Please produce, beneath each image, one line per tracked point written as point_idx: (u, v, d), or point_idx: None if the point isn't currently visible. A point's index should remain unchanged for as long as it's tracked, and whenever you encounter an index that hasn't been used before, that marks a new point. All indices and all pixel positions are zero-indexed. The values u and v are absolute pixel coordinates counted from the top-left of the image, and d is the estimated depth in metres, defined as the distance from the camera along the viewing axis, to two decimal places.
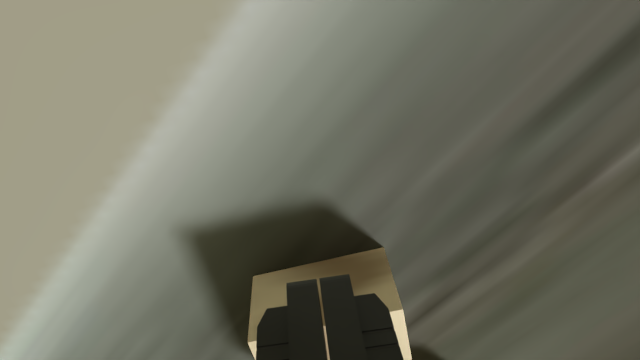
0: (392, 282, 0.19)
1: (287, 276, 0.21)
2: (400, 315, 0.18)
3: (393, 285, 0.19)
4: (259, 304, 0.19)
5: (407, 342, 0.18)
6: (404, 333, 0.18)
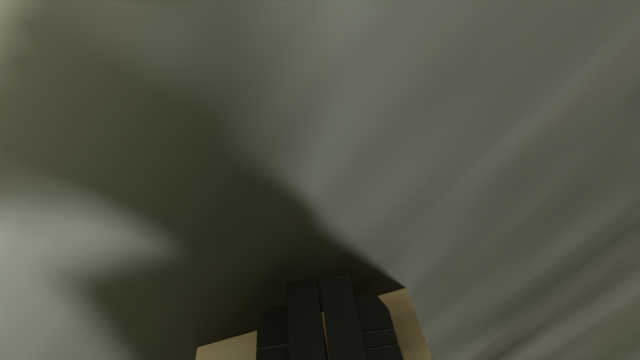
0: None
1: (250, 351, 0.12)
2: None
3: None
4: None
5: None
6: None
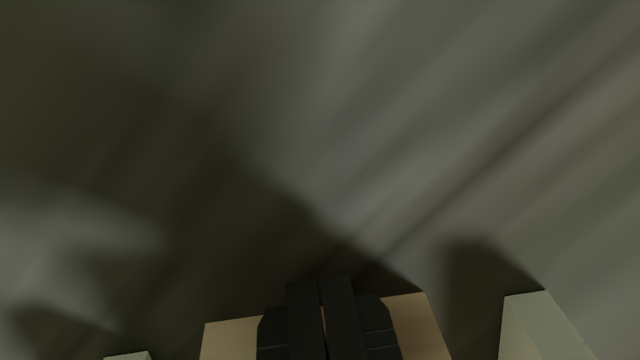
0: None
1: None
2: None
3: None
4: None
5: None
6: None
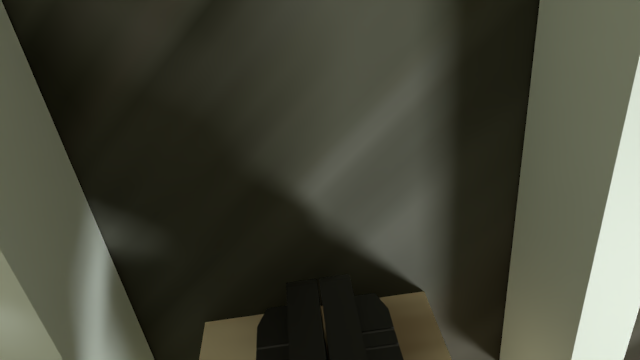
0: None
1: None
2: None
3: None
4: None
5: None
6: None
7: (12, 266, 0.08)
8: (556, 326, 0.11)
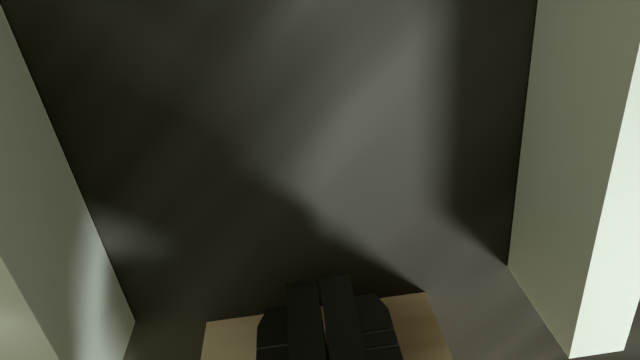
0: None
1: None
2: None
3: None
4: None
5: None
6: None
7: None
8: (581, 178, 0.09)
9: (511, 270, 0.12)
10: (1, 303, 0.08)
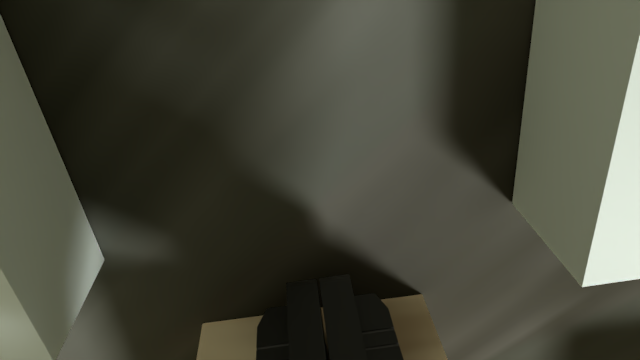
0: None
1: None
2: None
3: None
4: None
5: None
6: None
7: None
8: (600, 68, 0.08)
9: (516, 205, 0.11)
10: None
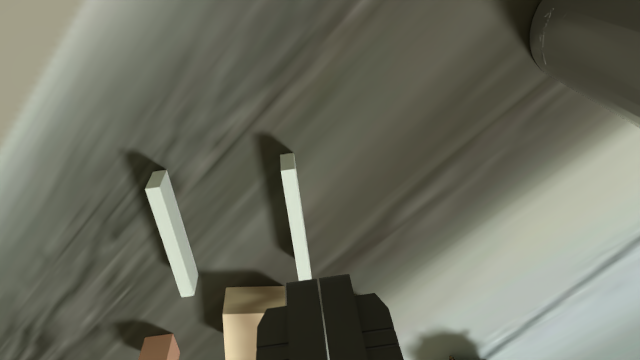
0: (284, 301, 0.47)
1: (241, 290, 0.48)
2: None
3: (284, 303, 0.47)
4: (228, 300, 0.47)
5: None
6: None
7: (171, 224, 0.40)
8: None
9: None
10: (180, 266, 0.43)
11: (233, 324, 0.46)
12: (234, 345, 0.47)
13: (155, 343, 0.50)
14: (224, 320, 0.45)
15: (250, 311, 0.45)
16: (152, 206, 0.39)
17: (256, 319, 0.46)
